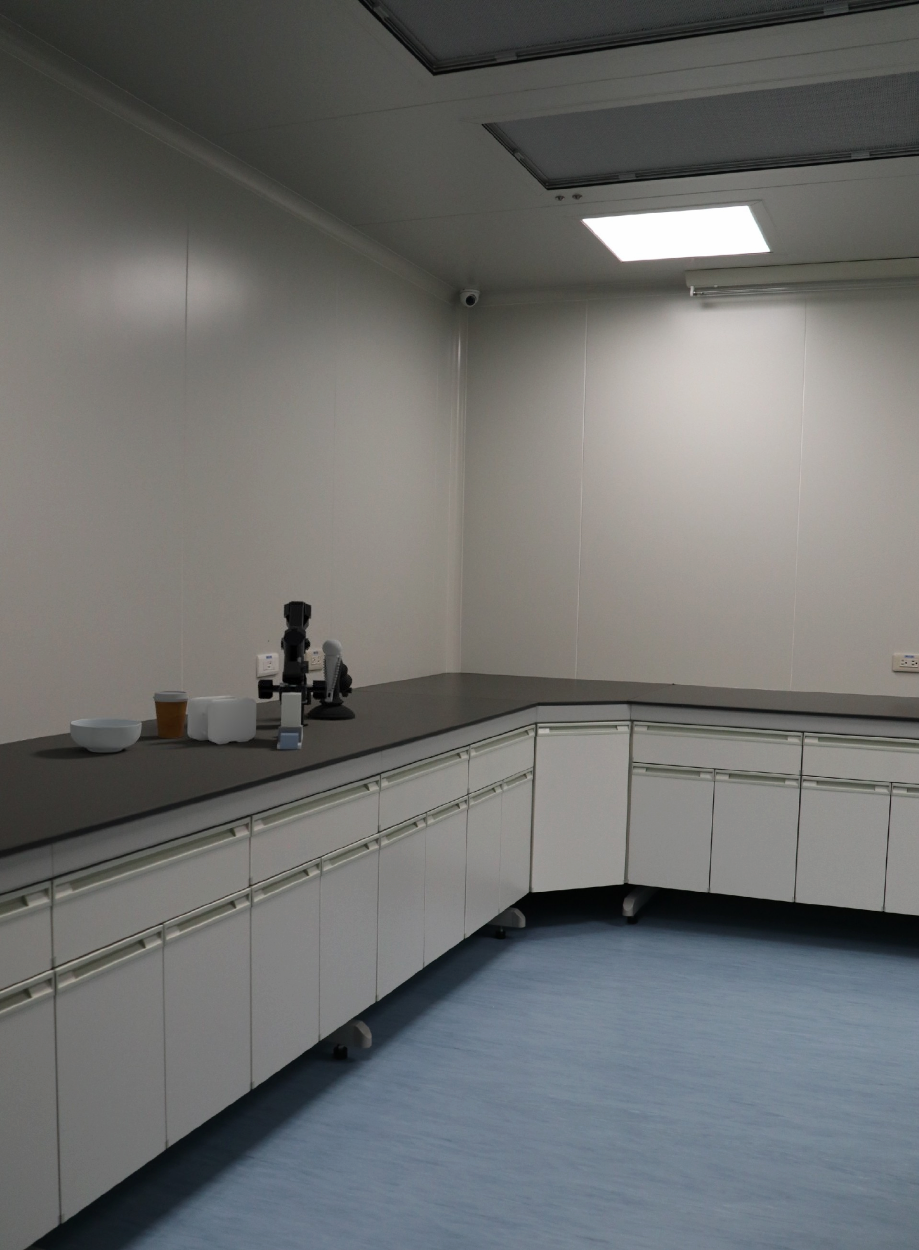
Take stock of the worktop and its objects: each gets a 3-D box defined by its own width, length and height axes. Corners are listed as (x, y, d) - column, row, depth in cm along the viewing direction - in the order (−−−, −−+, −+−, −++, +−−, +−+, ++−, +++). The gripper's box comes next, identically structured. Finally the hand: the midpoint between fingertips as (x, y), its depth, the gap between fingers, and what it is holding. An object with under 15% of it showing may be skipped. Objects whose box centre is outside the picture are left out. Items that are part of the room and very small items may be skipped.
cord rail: (281, 735, 291) (281, 717, 291) (302, 735, 292) (303, 717, 292) (277, 749, 267) (277, 729, 267) (300, 749, 268) (301, 729, 268)
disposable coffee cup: (167, 740, 277) (167, 695, 276) (145, 736, 283) (145, 692, 282) (196, 736, 284) (196, 692, 284) (173, 732, 290) (174, 689, 290)
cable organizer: (208, 746, 270) (208, 701, 269) (185, 741, 277) (186, 697, 276) (256, 740, 280) (257, 697, 280) (233, 736, 288) (234, 694, 287)
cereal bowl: (106, 758, 248) (107, 728, 247) (54, 751, 255) (54, 722, 254) (155, 748, 263) (156, 720, 263) (105, 743, 270) (105, 715, 270)
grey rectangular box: (281, 735, 282) (282, 692, 281) (300, 735, 282) (301, 692, 282) (280, 738, 277) (281, 694, 276) (299, 738, 277) (300, 694, 277)
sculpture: (300, 719, 327) (302, 639, 326) (323, 710, 350) (324, 636, 349) (347, 721, 324) (349, 641, 323) (367, 712, 348) (369, 637, 347)
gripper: (259, 649, 286) (255, 694, 275) (327, 651, 288) (326, 695, 277) (260, 676, 294) (256, 720, 283) (327, 677, 296) (326, 720, 286)
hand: (291, 713), depth 282 cm, fingers closed, pressing on grey rectangular box
